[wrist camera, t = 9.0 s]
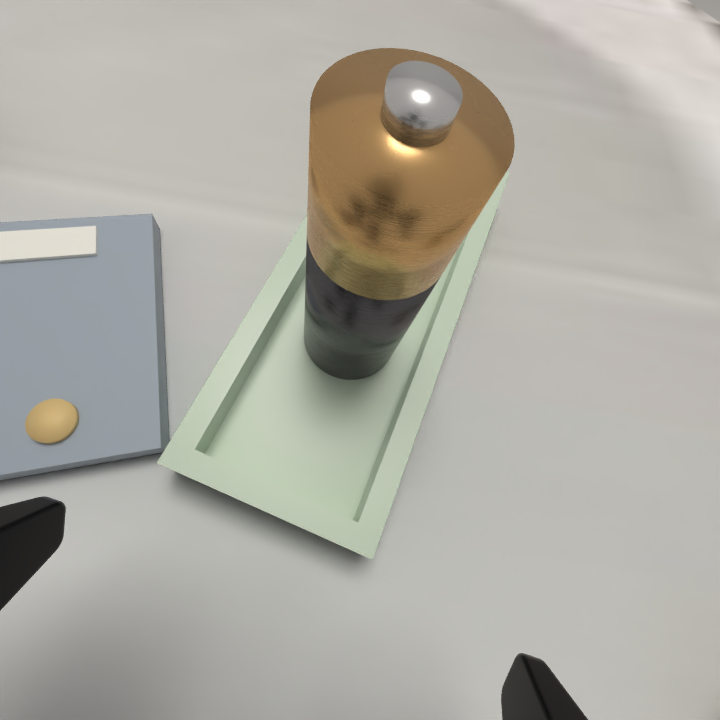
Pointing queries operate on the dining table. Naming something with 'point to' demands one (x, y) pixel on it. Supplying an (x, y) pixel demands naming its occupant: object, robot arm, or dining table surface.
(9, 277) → the checker pad
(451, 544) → the dining table surface
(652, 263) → the dining table surface
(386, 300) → the cell
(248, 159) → the dining table surface
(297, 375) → the trough
